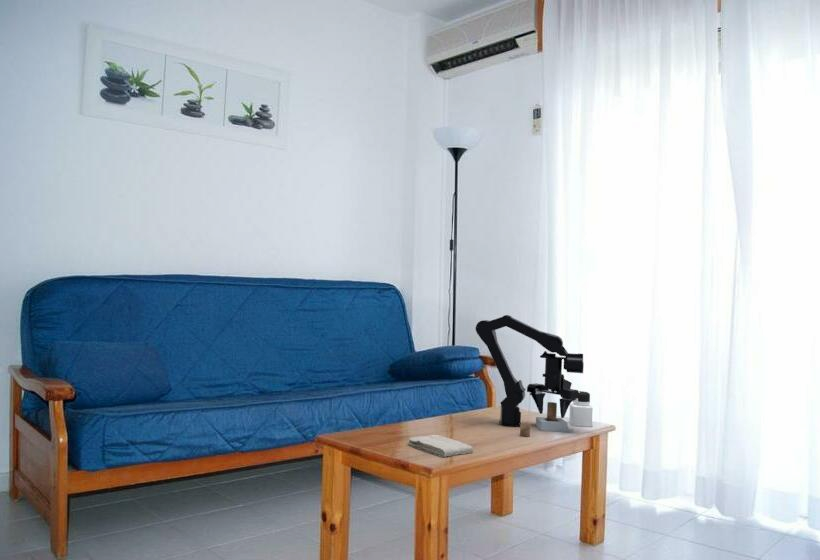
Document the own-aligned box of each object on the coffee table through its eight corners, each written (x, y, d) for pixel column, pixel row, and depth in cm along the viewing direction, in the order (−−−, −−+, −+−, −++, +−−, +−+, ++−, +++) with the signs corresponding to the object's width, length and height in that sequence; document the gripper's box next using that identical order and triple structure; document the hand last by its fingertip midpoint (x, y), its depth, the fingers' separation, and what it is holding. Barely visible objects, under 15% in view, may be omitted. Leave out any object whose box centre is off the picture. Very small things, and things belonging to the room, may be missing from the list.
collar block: (541, 430, 222) (541, 422, 222) (535, 425, 231) (536, 417, 231) (567, 431, 222) (567, 423, 222) (560, 426, 231) (561, 418, 231)
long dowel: (547, 429, 225) (548, 403, 225) (545, 427, 228) (546, 402, 228) (556, 429, 225) (557, 403, 225) (554, 427, 228) (555, 402, 229)
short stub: (520, 436, 211) (521, 424, 211) (519, 434, 215) (519, 422, 215) (530, 437, 211) (531, 424, 212) (528, 434, 215) (529, 422, 215)
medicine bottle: (588, 423, 240) (589, 390, 240) (592, 427, 233) (593, 393, 233) (569, 422, 240) (570, 389, 241) (572, 425, 233) (573, 392, 234)
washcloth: (434, 441, 201) (435, 431, 201) (475, 454, 187) (475, 443, 187) (404, 446, 194) (405, 435, 194) (444, 459, 180) (444, 448, 180)
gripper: (589, 373, 225) (587, 418, 225) (545, 367, 239) (544, 409, 239) (570, 374, 218) (568, 421, 218) (526, 368, 232) (525, 412, 232)
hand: (551, 415), depth 227 cm, fingers open, 9 cm apart
